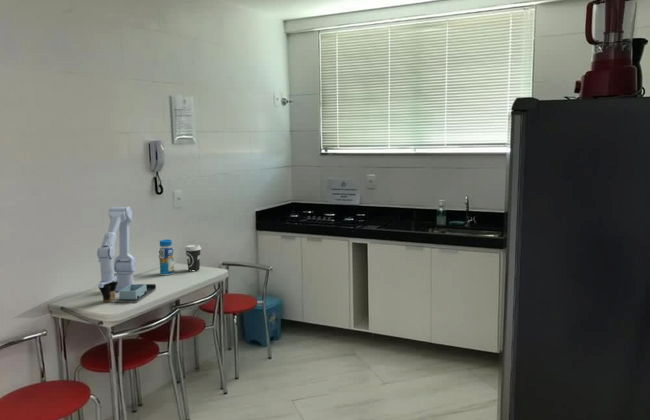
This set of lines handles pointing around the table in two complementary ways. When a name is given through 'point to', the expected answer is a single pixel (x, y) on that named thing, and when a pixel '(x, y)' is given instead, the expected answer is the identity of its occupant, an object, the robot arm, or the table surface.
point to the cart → (133, 291)
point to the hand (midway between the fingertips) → (109, 298)
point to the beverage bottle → (166, 257)
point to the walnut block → (111, 298)
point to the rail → (149, 290)
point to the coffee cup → (193, 257)
